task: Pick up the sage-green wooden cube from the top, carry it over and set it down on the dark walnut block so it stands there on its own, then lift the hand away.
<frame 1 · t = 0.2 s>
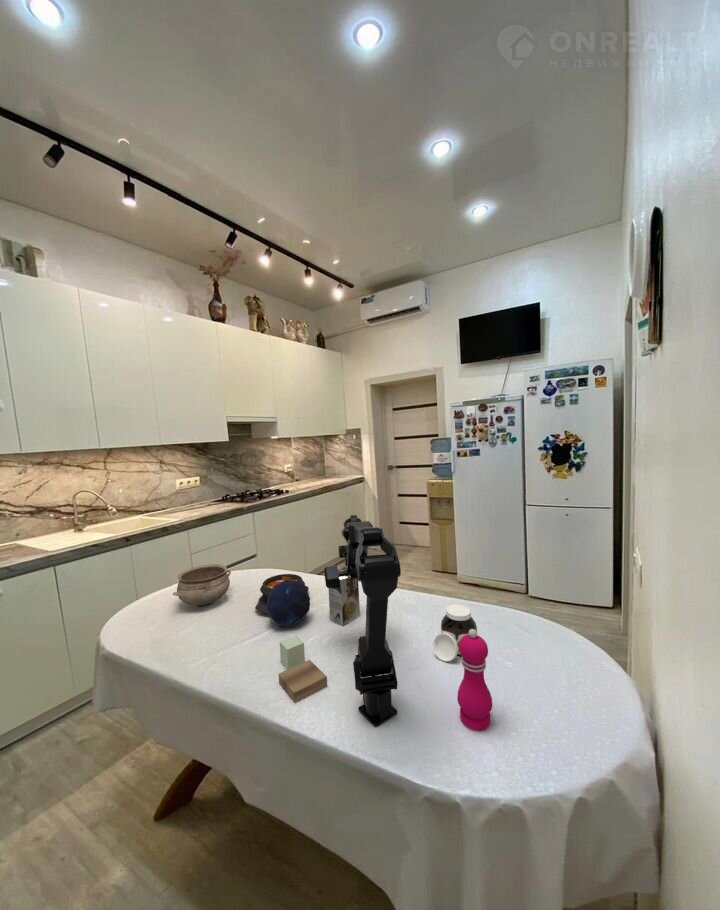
hand: (355, 590, 111), 15 cm above the table, tool tilted 30°, fingers open, 9 cm apart
walnut block: (303, 686, 91), on the table
cooking pot: (205, 603, 140), on the table
spread jar: (455, 653, 102), on the table
sage cube: (292, 663, 100), on the table
pepper mill: (475, 720, 78), on the table
decorative orb: (289, 623, 122), on the table
casserole: (283, 602, 138), on the table
coffee box: (345, 618, 124), on the table
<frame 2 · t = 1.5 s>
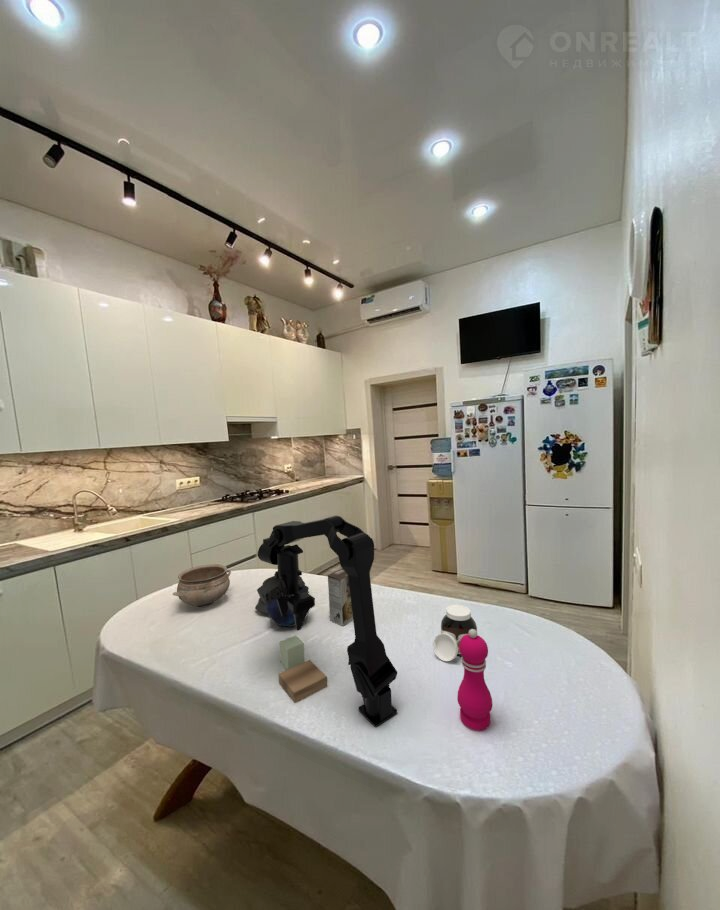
hand: (291, 623, 100), 11 cm above the table, tool pointing down, fingers open, 9 cm apart
nothing on the table moved.
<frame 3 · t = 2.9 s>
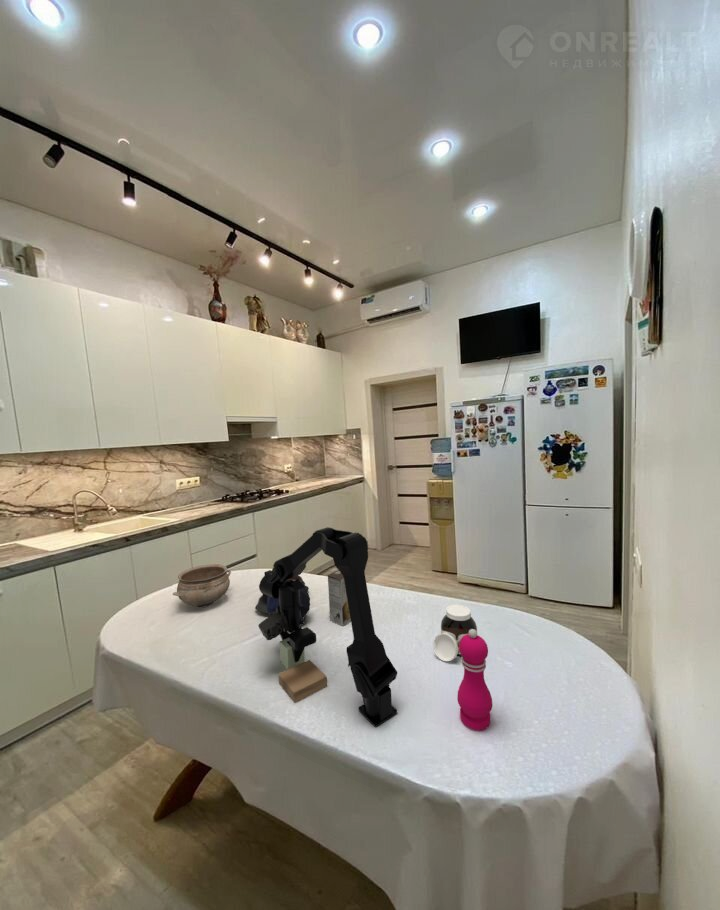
hand: (292, 657, 100), 2 cm above the table, tool pointing down, fingers closed on sage cube, 5 cm apart
sage cube: (292, 662, 100), on the table, touching gripper
everything else where it was.
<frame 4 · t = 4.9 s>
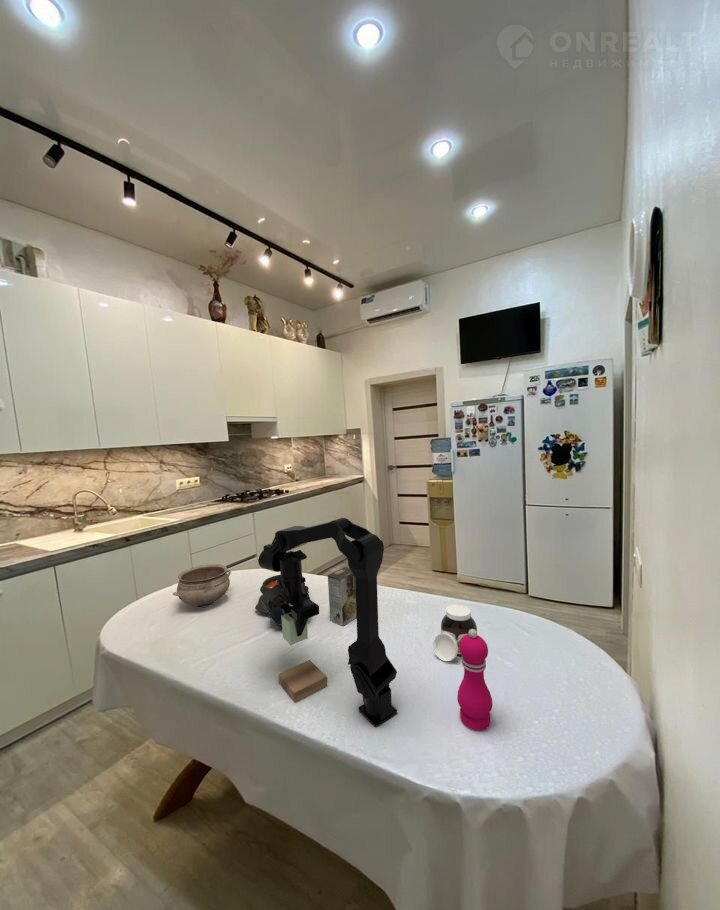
hand: (294, 631, 97), 11 cm above the table, tool pointing down, fingers closed on sage cube, 5 cm apart
sage cube: (295, 637, 97), point 9 cm above the table, touching gripper
everything else where it was.
when the fingers open (6 cm above the table, at t = 7.2 s): sage cube drops 2 cm, resting on walnut block.
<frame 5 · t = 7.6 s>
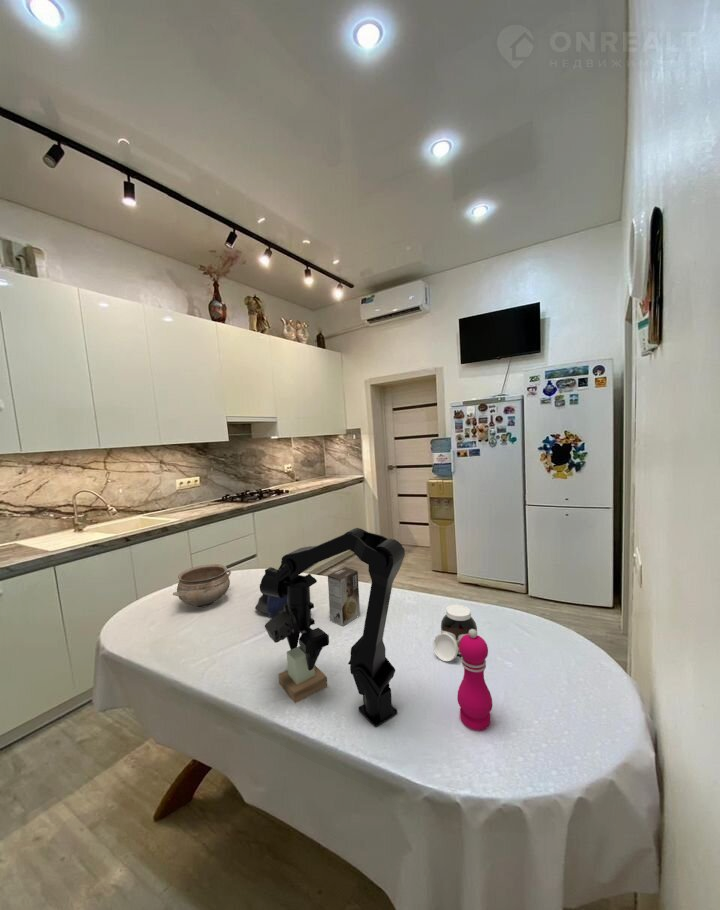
hand: (301, 660, 91), 6 cm above the table, tool pointing down, fingers open, 9 cm apart
walnut block: (303, 686, 91), on the table, touching sage cube
sage cube: (301, 675, 91), point 3 cm above the table, touching walnut block
everything else where it was.
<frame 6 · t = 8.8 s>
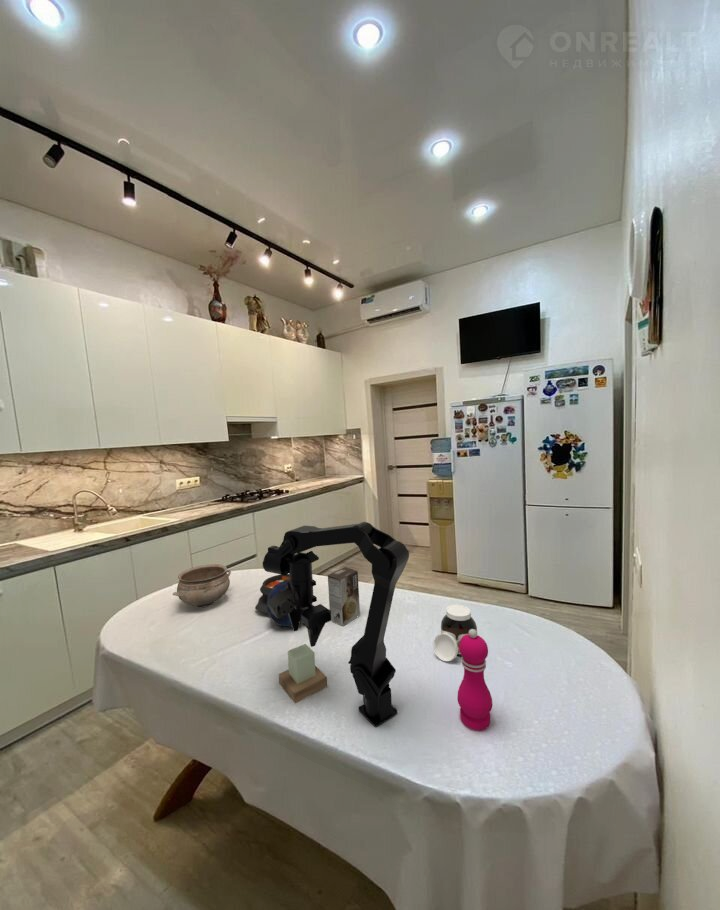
hand: (304, 638, 91), 12 cm above the table, tool pointing down, fingers open, 9 cm apart
walnut block: (303, 686, 91), on the table
sage cube: (302, 674, 91), point 2 cm above the table
everything else where it was.
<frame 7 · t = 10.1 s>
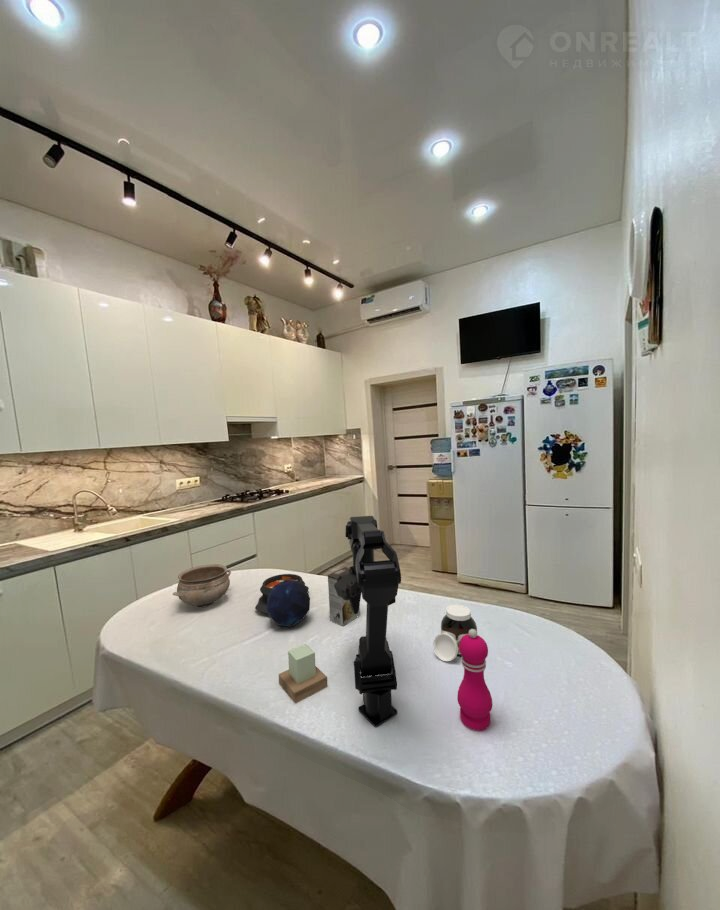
hand: (366, 620, 96), 13 cm above the table, tool pointing down, fingers open, 9 cm apart
walnut block: (303, 686, 91), on the table, touching sage cube
sage cube: (302, 674, 91), point 2 cm above the table, touching walnut block
everything else where it was.
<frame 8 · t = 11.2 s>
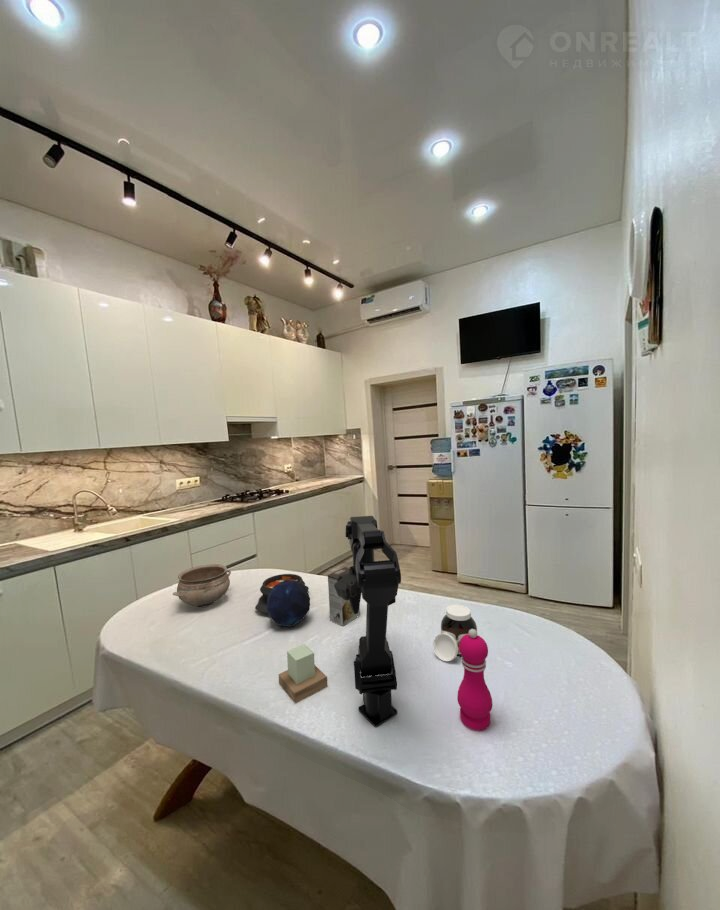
hand: (366, 620, 96), 13 cm above the table, tool pointing down, fingers open, 9 cm apart
walnut block: (303, 686, 91), on the table
sage cube: (301, 674, 91), point 3 cm above the table
everything else where it was.
at the end: sage cube 0.4 cm off-centre on the walnut block, point 3.1 cm above the walnut block's base; sage cube tilted 1°; the gripper is holding nothing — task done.
